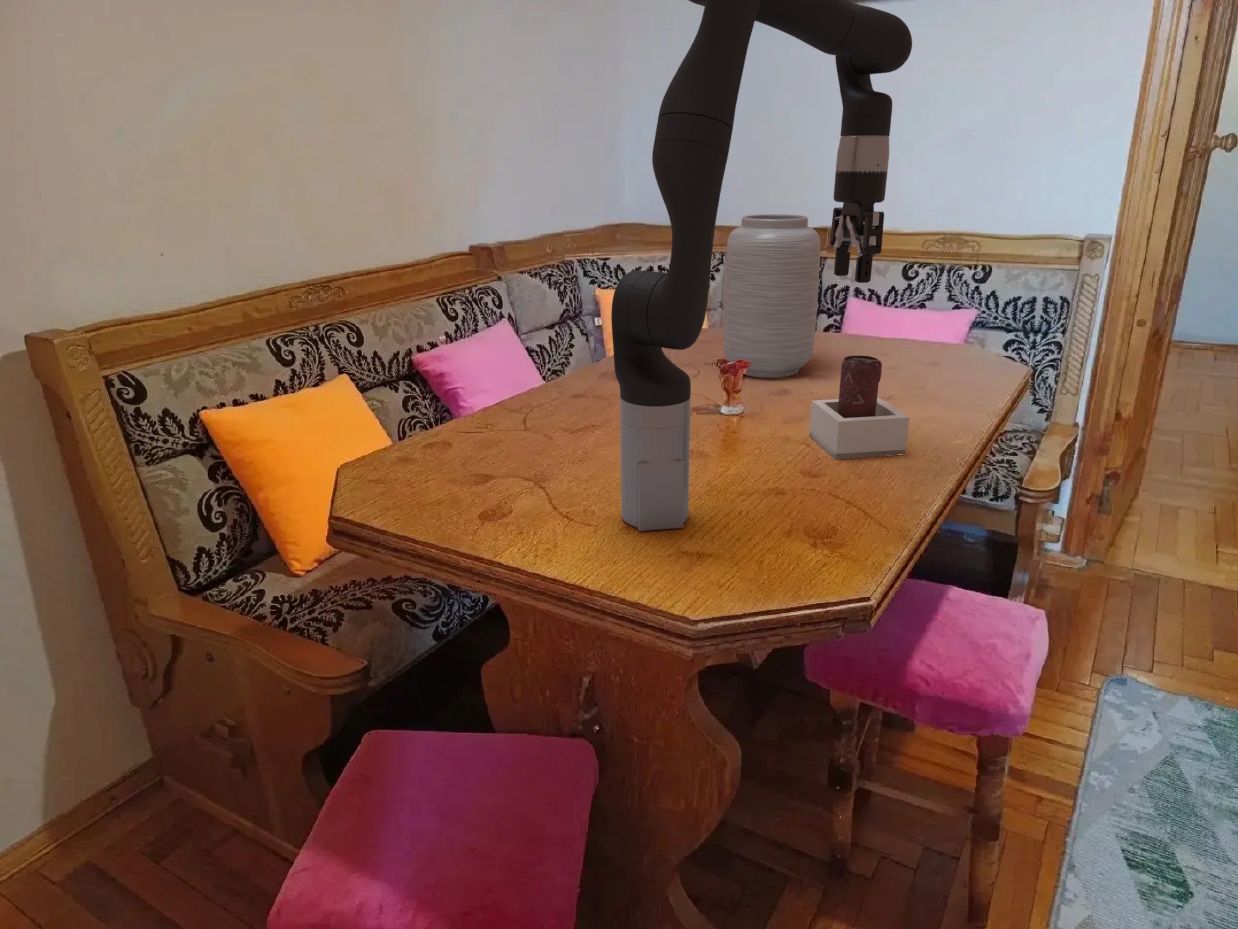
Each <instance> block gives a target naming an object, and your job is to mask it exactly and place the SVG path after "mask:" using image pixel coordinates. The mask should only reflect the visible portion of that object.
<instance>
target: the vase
mask: <svg viewBox="0 0 1238 929" xmlns="http://www.w3.org/2000/svg"><path fill="white" fill-rule="evenodd" d="M808 223H809V218H808V216H806V215H802V214H801V215H800V214H786V213H785V214H784V213H783V214H782V213H780V214H777V213H776V214H775V213H774V214H773V213H772V214H771V213H770V214H769V213H767V214H750V215H744V216H742V218H741V224H740V226H739V227H736V228H734V229H733V230H732V231H731V232H730V234H729V236H728V238H727V241H726V250H725V251H726V253H725V267H724V268H725V269H724V270H725V273H724V274H725V275H724V294H723V296H724V297H723V299H724V301H723V303H724V304H723V334H722V335H723V336H722V338H723V351H724V352H723V353H724V356H725V357H726V360H727V361H728V362H729V361H730V362H733V361H736V360H745V361H749V362H751V365H750V367H749V368H748V369H747V371H746V374H745V375H744V376H748V377H753V378H761V379H763V378H764V379H779V378H780V379H781V378H786V377H787V376H788V377H792V376H795V375H796V374H798V373H799V370H800V368H802V367H804V366H805V365H807V363H808V362H809V361H810V359H811V357H812V355H813V351H814V346H815V345H814V344H815V338H816V326H817V312H818V299H819V285H820V284H819V283H820V270H821V269H820V267H821V238H820V235H819V234H818V231H816V230H815V229H814V228H812V227H810V226H809V224H808ZM730 362H729V363H730ZM794 374H795V375H794ZM791 375H792V376H791Z"/></svg>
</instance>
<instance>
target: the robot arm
mask: <svg viewBox="0 0 1238 929" xmlns="http://www.w3.org/2000/svg"><path fill="white" fill-rule="evenodd" d="M688 2H691V3H693V4H695V5H698V6H702V7H704V8H703V12H702V16H701V21H700V24H699V27H698V29H697V33H696V35H695V38H694V39H693V41H692V43H691V45H690V48H689V49H688V50H687V53H686V54H685V56H684V58H683V60H682V61H681V63H680V65H679V66H678V68H677V70H676V72H675V74H674V75H673V77H672V79H671V81H670V82H669V84H668V87H667V89H666V91H665V93H664V96H663V98H662V101H661V104H660V107H659V112H658V117H657V123H656V130H655V133H654V134H655V135H654V140H653V146H652V147H653V148H652V157H651V159H652V160H651V163H652V169H653V173H654V177H655V180H656V184H657V187H658V190H659V191H660V192H659V193H660V195H661V198H662V200H663V202H664V206H665V209H666V211H667V214H668V217H669V222H670V228H671V252H670V261H669V266H668V271H667V272H661V271H652V270H632V271H630V272H626V274H624V275H623V276H622V277H621V278H620V279H619V281H618V283H617V284H616V287H615V289H614V292H613V296H612V302H611V311H610V312H611V319H610V320H611V334H612V335H611V336H612V337H611V338H612V348H613V349H612V350H613V363H614V365H613V366H614V367H613V368H614V373H615V378H616V380H617V382H618V386H619V395H620V396H619V397H620V398H619V399H620V402H619V403H620V404H619V406H620V408H619V409H620V410H619V411H620V487H621V488H620V489H621V490H620V491H621V517H622V520H623V522H624V523H626V524H628V525H630V526H632V527H634V528H636V529H637V530H638V531H639V532H645V531H657V530H668V529H670V530H671V529H683V528H684V527H685V526H684V525H685V524H684V523H686V521H687V520H688V519H689V500H690V499H689V497H690V495H689V494H690V491H689V490H690V486H689V485H690V484H689V483H690V442H691V440H690V437H691V436H690V435H691V427H690V426H691V398H692V397H691V396H692V392H691V391H692V390H691V389H692V386H691V384H692V383H691V378H690V376H689V375H688V374H687V372H685V370H683V369H681V368H680V367H678V365H676V364H675V363H674V362H672V361H671V360H670V359H669V358H668V357H667V356H666V354H665V353H664V351H663V349H670V350H678V351H684V350H687V349H688V348H690V347H692V346H693V345H694V344H695V343H696V341H697V339H698V338H699V336H700V334H701V332H702V330H703V326H704V323H705V321H706V315H707V314H706V313H707V309H708V303H709V301H708V299H709V291H710V281H711V270H712V268H711V267H712V258H713V257H712V256H713V248H714V238H715V230H716V222H717V216H718V210H719V206H720V205H719V204H720V203H719V202H720V200H721V199H720V198H721V192H722V188H723V187H722V186H723V180H724V176H725V172H726V167H727V162H728V158H729V154H730V147H731V141H732V137H733V128H734V123H735V116H736V114H735V113H736V108H737V104H738V103H737V102H738V99H739V98H738V97H739V93H740V89H741V82H742V77H743V73H744V69H745V63H746V56H747V53H748V49H749V44H750V41H751V35H752V33H753V29H754V25H755V22H757V23H760V24H762V25H765V26H768V27H771V28H773V29H776V30H778V31H780V32H783V33H785V34H787V35H790V36H792V37H794V38H795V39H797V40H799V41H801V42H802V43H805V44H806V45H808V46H810V47H812V48H814V49H816V50H818V51H820V52H822V53H824V54H826V55H830V56H835V59H834V60H835V67H836V73H837V78H838V86H839V93H840V97H841V104H842V114H841V123H840V124H841V127H840V138H839V144H838V148H837V153H836V154H837V155H836V162H835V164H836V166H835V174H834V175H835V176H834V187H833V188H834V189H833V200H834V202H836V203H843V204H842V207H841V206H840V207H834V208H833V211H832V220H831V226H830V227H831V228H830V229H831V230H830V238H829V239H830V240H829V246H830V247H833V251H834V252H835V256H834V265H833V266H834V267H833V268H834V269H833V274H834V275H835V276H837V277H846V276H848V275H849V273H850V272H849V271H850V260H851V252H850V251H851V248H852V247H853V245H854V246H855V250H856V255H857V257H856V263H855V274H854V275H855V276H854V281H855V282H856V283H858V284H859V283H860V284H862V283H863V284H865V283H866V284H867V283H870V282H871V277H872V268H873V259H874V258H875V257H876V255H880V254H881V253H882V248H883V247H882V246H883V233H884V223H885V222H884V221H885V212H884V211H875V204H878V203H883V202H884V200H885V198H886V191H887V190H886V188H887V180H888V170H889V161H890V135H891V133H890V132H891V124H892V123H891V122H892V116H893V115H892V114H893V99H892V97H891V96H890V95H889V94H888V93H886V92H885V93H884V92H881V91H877V90H874V88H873V83H872V80H871V75H876V74H877V75H878V74H887V73H888V74H889V73H891V72H895V71H897V70H899V69H900V68H901V67H903V66H904V64H905V63H906V62H907V61H908V59H909V58H910V56H911V52H912V48H913V47H912V46H913V39H912V38H913V37H912V33H911V31H910V28H909V27H908V25H907V23H905V21H904V20H903V19H902V18H901V17H899V16H897V15H895V14H893V13H891V12H888V11H885V10H882V9H878V8H875V7H871V6H868V5H862V4H859V3H855V2H854V1H852V0H688Z"/></svg>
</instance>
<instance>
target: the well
mask: <svg viewBox="0 0 1238 929" xmlns="http://www.w3.org/2000/svg"><path fill="white" fill-rule="evenodd" d="M838 402H839V398H837V399H835V398H834V399H820V400H819V399H817V400H811V407H810V422H809V436H808V437H809V438H811V439H812V440H813V441H814V442H815V443H816V444H817V445H818V446H820V448H822V449H823V451H825V452H826V453H827V454H829V456H831V457H832V458H833V459H834V460H836V461H837V460H838V461H839V460H850V459H851V460H852V459H866V458H867V457H870V458H877V457H876V456H885V457H888V456H887V455H898V454H905V455H906V454H907V443H908V436H909V428H910V427H909V426H910V421H911V420H910V416H908V415H906V414H905V413H903V412H902V411H901V410H899V409H897V408H896V407H894V406H893V405H892V404H890V403H888V402H886V401H884V400H883V399H881V398H880V397H878V396H877V405H876V415H875V416H874V417H856V418H843V417H842V416H840V415H839V414H838Z"/></svg>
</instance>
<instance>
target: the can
mask: <svg viewBox="0 0 1238 929" xmlns="http://www.w3.org/2000/svg"><path fill="white" fill-rule="evenodd" d="M882 366H883V364H882V361H881V360H880V359H879V358H876V357H873V356H869V355H849V356H846V357H844V358H843V361H842V362H841V367H840V368H841V369H840V380H839V381H840V382H839V391H838V399H839V402H838V414H839V415H840V416H842V417H843V418H856V417H874V416H875V415H876V405H877V397H878V395H879V394H878V393H879V385H880V384H879V383H880V382H881V378H882V373H883V371H882V370H883V369H882V368H883V367H882Z"/></svg>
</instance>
